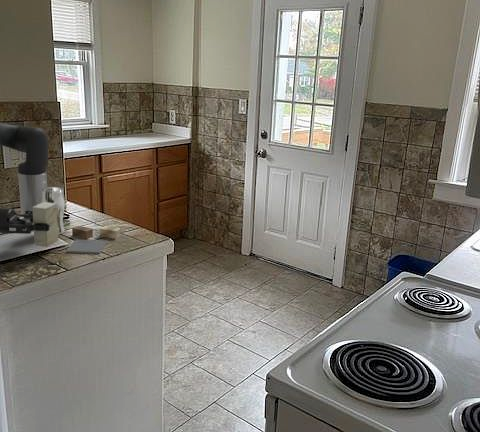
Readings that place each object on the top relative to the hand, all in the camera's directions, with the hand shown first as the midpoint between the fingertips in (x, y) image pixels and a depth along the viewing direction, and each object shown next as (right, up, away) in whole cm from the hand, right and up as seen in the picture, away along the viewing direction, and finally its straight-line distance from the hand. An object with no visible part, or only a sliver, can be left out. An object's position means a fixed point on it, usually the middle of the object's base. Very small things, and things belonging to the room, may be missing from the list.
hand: (53, 223), depth 145 cm
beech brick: (+12, -5, +19) cm, 23 cm away
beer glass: (-7, -3, +19) cm, 21 cm away
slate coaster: (+8, -8, +8) cm, 14 cm away
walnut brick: (+3, -5, +17) cm, 18 cm away
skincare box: (-3, -6, +2) cm, 7 cm away
